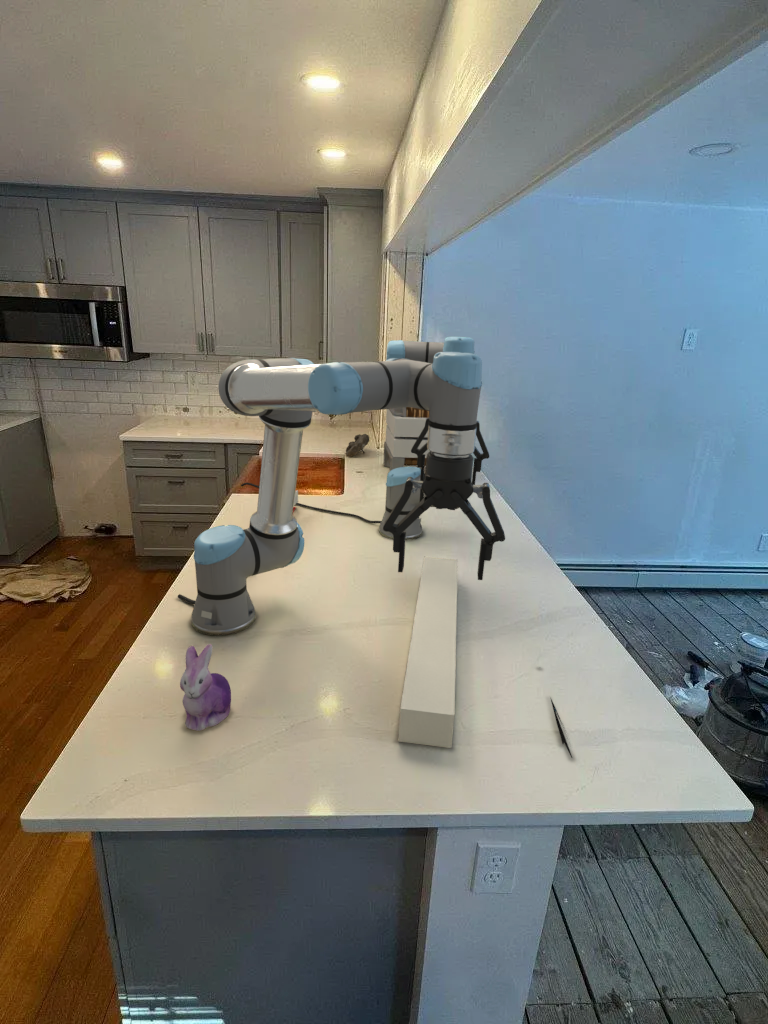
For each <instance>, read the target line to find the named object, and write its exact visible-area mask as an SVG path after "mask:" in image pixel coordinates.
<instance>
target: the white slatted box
mask: <svg viewBox="0 0 768 1024" xmlns="http://www.w3.org/2000/svg"><path fill="white" fill-rule="evenodd" d="M429 412H430V411H426V410H423V409H418V408H413V407H402V408H392V409H386V413H385V414H386V415H385V423H386V428H385V438H384V442H383V466H384V467H388V468H389V472H390V471H391V470H393V469H395V468H399V467H405V466H406V467H408V466H411V467H417V455H416V454H414V453H412V452H411V449H412V447H413V445H414V444H415V442H416V440H417V438H418V437H419V435H420V433H421V432H422V430H423V428H424V427H425V422H426V419H427V418H428V417H429ZM427 442H428V432H427V433H426V435H425V437H424V438H423V440H422V442H421V443H420V445H419V447H418V448H417V449H421V448H422V447H423V446H424V445H425V444H426V443H427ZM428 452H430V451H429V450H427V451H426V452H425V453H424V454H425V467H426V456H427V454H428Z"/></svg>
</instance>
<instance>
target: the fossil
mask: <svg viewBox="0 0 768 1024" xmlns="http://www.w3.org/2000/svg"><path fill="white" fill-rule="evenodd" d="M369 443H370V436H369V434H367V433H363V434H361V433H360V434H356V435H355V436H354V441H349V442H348V445H347V447H346V449H345V455H346V457H348V458H351V457H354V456H356V455H357V454H359V453H361V452H362V454H365V451H364V448H365V447H366V446H368V444H369Z"/></svg>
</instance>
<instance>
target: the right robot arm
mask: <svg viewBox="0 0 768 1024" xmlns="http://www.w3.org/2000/svg"><path fill="white" fill-rule="evenodd" d="M438 352H460V353H472V354H475V339H474V338H472V337H468V336H446V337H445V338H444V341H443V342H440V341H439V342H438V341H415V340H402V339H398V340H397V339H396V340H389V341H388V342H387V346H386V357H385V358H386V360H388V359H391V358H406V359H410V360H414V361H420V362H426V363H433V359H434V355H435V354H436V353H438ZM386 360H385V361H386ZM476 422H477V426H476V427H477V428H476V439H477V442H478V443H479V446H480V448H481V451H482V453H481V452H480V450H479V449H478V447H477V446H475V449H474V452H473V453H472V454H473V455H474V457H473V458H474V459H473V469H472V479H471V482H472V484H473V485H476V480H477V473H480V472H481V471H482V464H483V463H482V462H483V460H486V459H489V458H490V453H489V450H488V447H487V445H486V442H485V440H484V437H483V435H482V432H481V430H480V429H481V425H480V421H479V420H477V421H476ZM428 428H429V417H428V418H427V419H426V422H425V427H424V428H423V430H422V432H421V433H420V435H419V437H418V438H417V440H416V442H415V444H414V445H413V447H412V449H411V452H412V453H414V454H416V455H417V466H404V467H399V468H395V469H393V470H391V471H390V470H389V471H388V473H387V475H386V482H385V487H386V488H385V489H386V490H385V504H384V505H385V507H384V508H385V509H384V513H383V515H382V519H381V520H369V519H367V518H364V517H362V516H360V515H358V514H354V513H349V512H342V511H336V510H331V509H325V508H320V507H316V506H311V505H308V504H304V503H299V502H297V503H296V504H295V505H296V506H299V507H303V508H306V509H310V510H314V511H319V512H325V513H330V514H335V515H341V516H347V517H348V516H349V517H352V518H356V519H360V520H361V521H363V522H366V523H367V524H379V527H378V533H379V534H380V535H381V536H382V537H385V538H387V539H389V540H393V534H392V533H391V532H386V531H384V530H383V527H384V524H385V521H386V520H387V518H388V516H389V515H390V513H391V511H392V510H393V508H394V506H395V505H396V503H397V501H398V500H399V498H400V496H401V495H402V493H403V491H404V488H405V483H406V480H407V478H408V477H412V478H413V479H414V480H419V481H423V480H424V479H425V468H426V466H425V454H424V453H425V452H426V451H427V450H428V449H427V443H428V442H427V443H426V444H425V445H424V446H423V447H422V448H421V449H417V448H418V447H419V445H420V443H421V442H422V440H423V438H424V437H425V435H426V433H427V432H428ZM244 486H250V487H251V486H252V487H255V488H257V489H259V485H257V484H255V483H252V482H244V483H241V484H240V487H244ZM425 496H426V495H425V494H424V492H423V491H422V489H421V488H419V489H417V491H416V492H415V493H411V495H410V497H409V499H408V501H407V503H406V504H405V506H404V508H403V509H402V511H401V512H400V514H399V516H398V517H397V519H396V521H395V522H394V524H398V523H399V522H400V521H401V520H402V519H403V518H404V517H405V516H406V515H407V514H408V513H409V512H410V511H411V510H412V509H414V508H415V507H416V506H417V505H418V504H419V503H420V502H421V500H422V499H423V498H424V497H425ZM430 508H435V507H434V506H431V507H430ZM443 510H447V509H446V508H444V509H443ZM421 522H422V517H421V518H420V516H419V517H418V518H417V519H416V520H415V521H414V522H413V523H412V524H411V525H410V526H409V527H408V528H407V529H406V530H405V531H404V532H406V539H405V541H410V540H415V539H418V538H420V537H421V536H422V535H423V525H422V524H421Z"/></svg>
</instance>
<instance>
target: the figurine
mask: <svg viewBox="0 0 768 1024" xmlns="http://www.w3.org/2000/svg"><path fill="white" fill-rule="evenodd" d="M213 649H214V648H213V645H212V644H211V643H208V644H206V646H204V648H203V649H202V651H201V652H200V653H199V655H198V651H197V650H196V647H195V646H194V645H190V646H188V647H187V648H186V652H185V659H184V660H185V669H184V672H183V673H182V675H181V678H180V681H179V687H180V690H181V691H182V692H183V693H184V694H183V697H182V705H183V708H184V711H185V714H186V718H185V722H184V723H185V727H186V728H187V729H189V730H194V731H198V732H199V731H204V730H205V729H207V728H213V727H215V726H217V725H219V724H220V723H221V722H222V721H224V720H225V719H227V717H229V715H230V712H231V705H232V689H231V686H230V683H229V681H228V679H227V678H226V677H225V676H224V675H222V674H221V673H219V672H218V673H217V672H212V673H211V671H210V669H209V665H210V662H211V658H212V654H213Z"/></svg>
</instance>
